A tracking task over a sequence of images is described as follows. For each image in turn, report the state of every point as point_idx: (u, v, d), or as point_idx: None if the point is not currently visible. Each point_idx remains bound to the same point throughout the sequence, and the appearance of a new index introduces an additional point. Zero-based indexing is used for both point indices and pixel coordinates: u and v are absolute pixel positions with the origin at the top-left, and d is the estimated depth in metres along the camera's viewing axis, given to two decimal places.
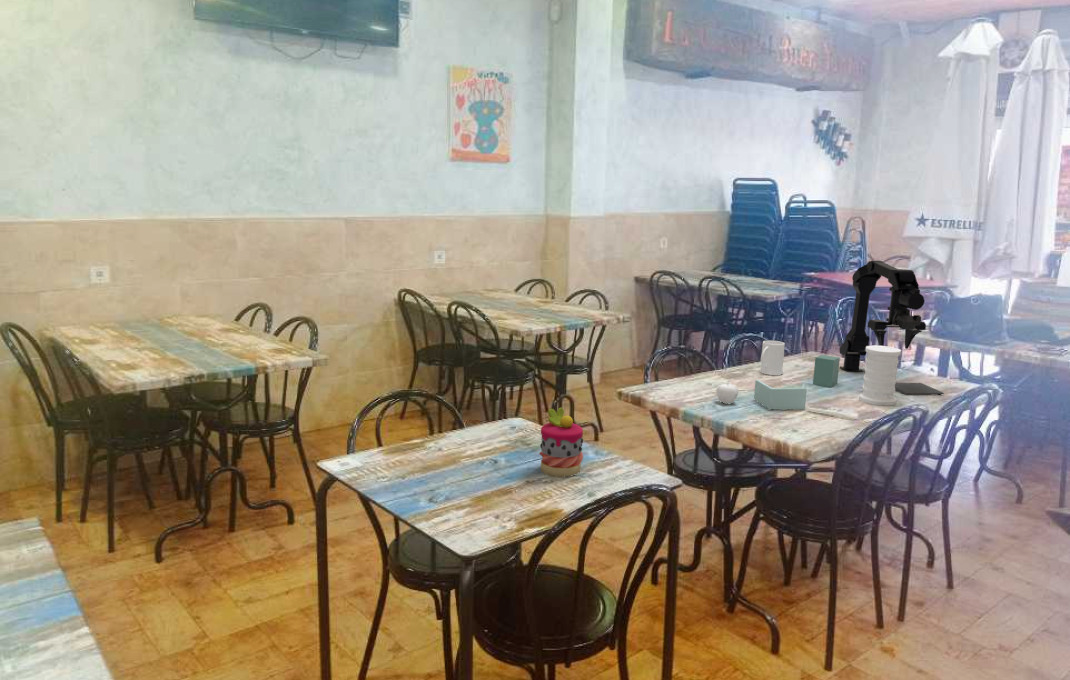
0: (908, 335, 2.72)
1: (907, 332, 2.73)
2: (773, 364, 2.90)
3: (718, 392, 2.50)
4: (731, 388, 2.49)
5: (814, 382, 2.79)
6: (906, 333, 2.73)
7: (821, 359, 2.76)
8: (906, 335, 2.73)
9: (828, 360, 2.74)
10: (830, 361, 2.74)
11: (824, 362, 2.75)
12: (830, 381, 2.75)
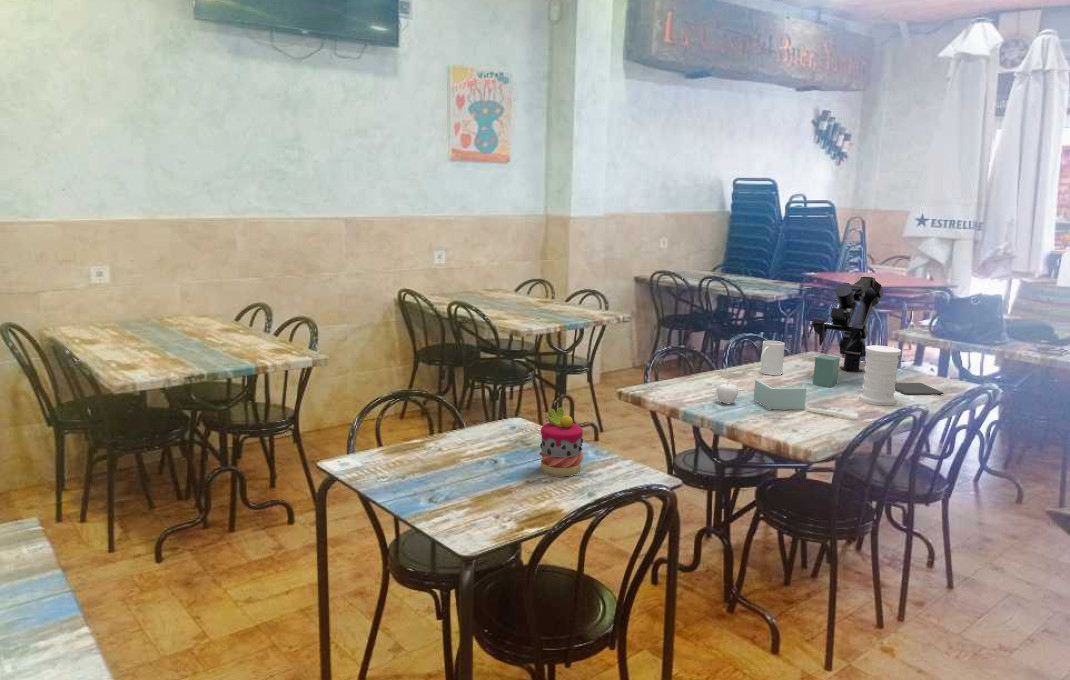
0: None
1: None
2: (773, 364, 2.90)
3: (718, 392, 2.50)
4: (731, 388, 2.49)
5: (814, 382, 2.79)
6: None
7: (821, 359, 2.76)
8: None
9: (828, 360, 2.74)
10: (830, 361, 2.74)
11: (824, 362, 2.75)
12: (830, 381, 2.75)
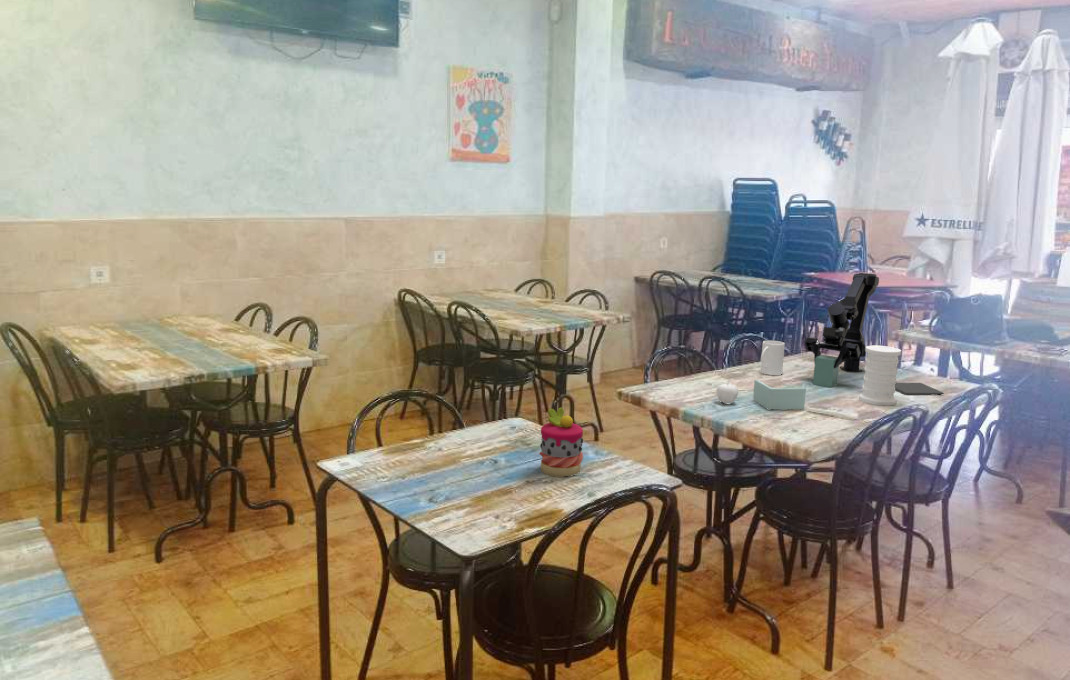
0: None
1: None
2: (773, 364, 2.90)
3: (718, 392, 2.50)
4: (731, 388, 2.49)
5: (814, 382, 2.79)
6: None
7: (821, 359, 2.76)
8: None
9: (828, 360, 2.74)
10: (830, 361, 2.74)
11: (824, 362, 2.75)
12: (830, 381, 2.75)
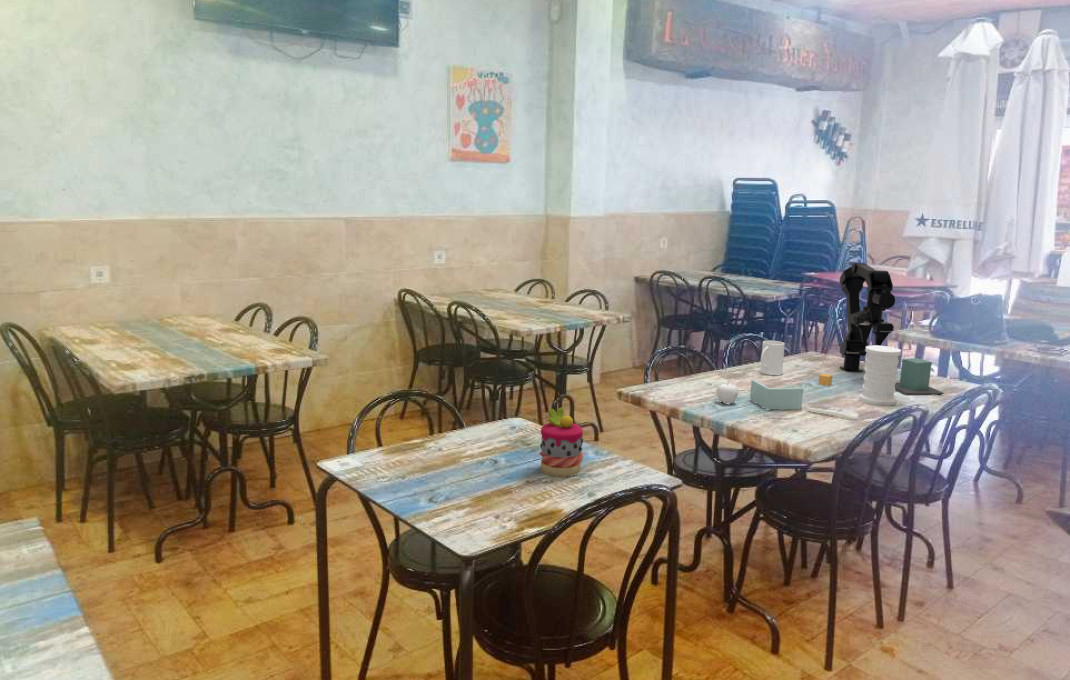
0: None
1: None
2: (773, 364, 2.90)
3: (718, 392, 2.50)
4: (731, 388, 2.49)
5: (915, 388, 2.70)
6: None
7: (921, 363, 2.69)
8: None
9: (927, 363, 2.70)
10: (929, 364, 2.70)
11: (924, 366, 2.69)
12: (928, 384, 2.72)
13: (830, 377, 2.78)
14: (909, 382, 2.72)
